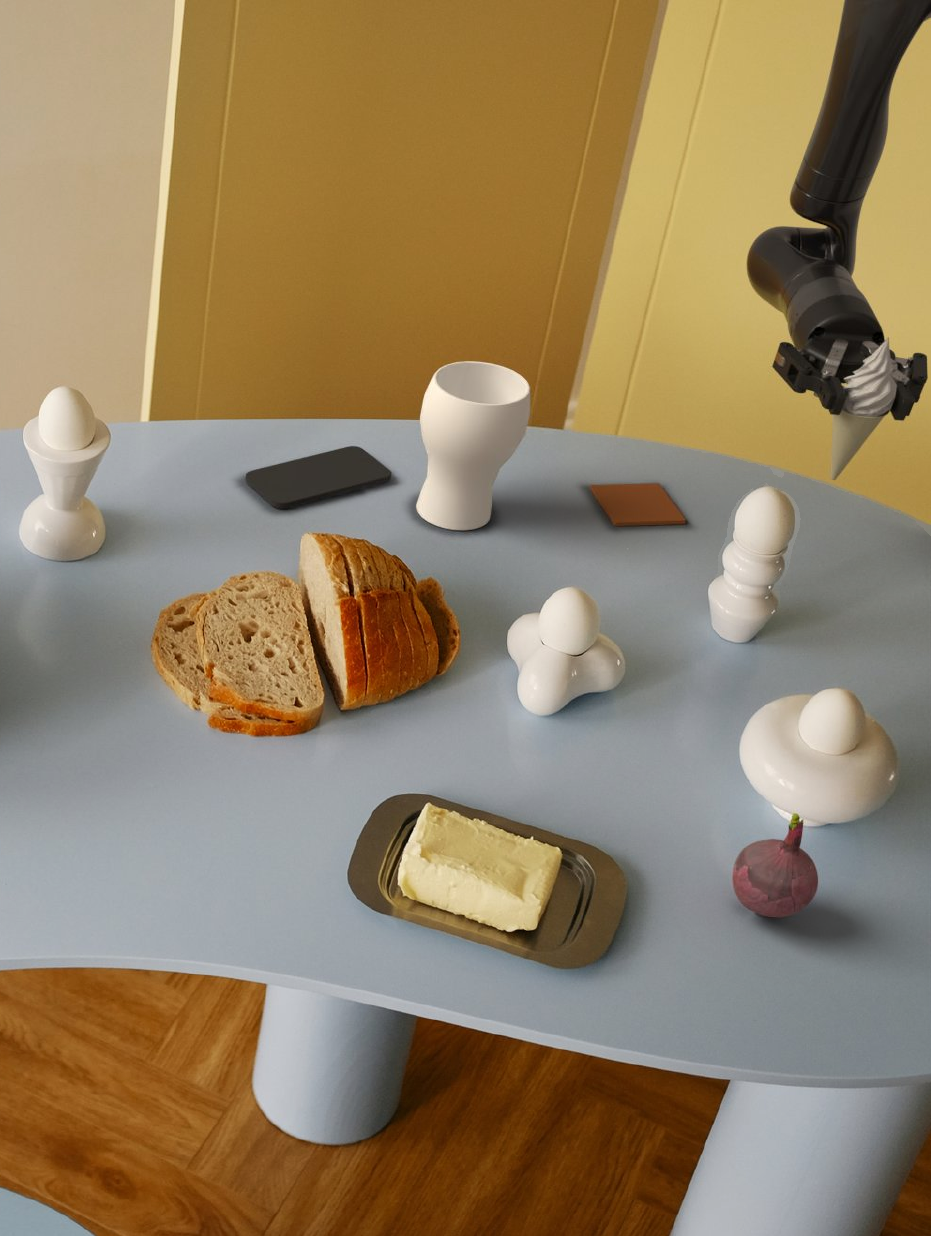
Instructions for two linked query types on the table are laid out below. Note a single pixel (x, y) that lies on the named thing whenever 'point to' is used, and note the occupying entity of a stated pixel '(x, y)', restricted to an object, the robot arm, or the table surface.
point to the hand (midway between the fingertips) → (871, 408)
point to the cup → (469, 439)
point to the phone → (317, 476)
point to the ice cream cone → (862, 407)
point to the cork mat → (637, 504)
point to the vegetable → (776, 875)
